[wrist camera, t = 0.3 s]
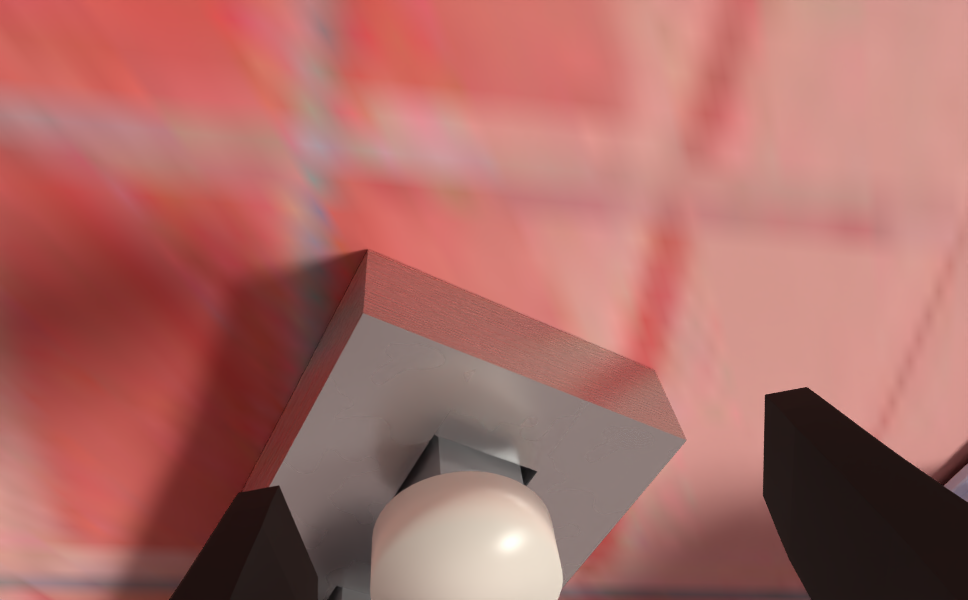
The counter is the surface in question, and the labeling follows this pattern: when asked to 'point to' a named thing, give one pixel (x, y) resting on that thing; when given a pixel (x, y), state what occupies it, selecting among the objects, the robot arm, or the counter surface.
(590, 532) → the panel
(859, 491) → the robot arm
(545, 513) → the button ivory
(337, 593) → the button charcoal
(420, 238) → the counter surface
